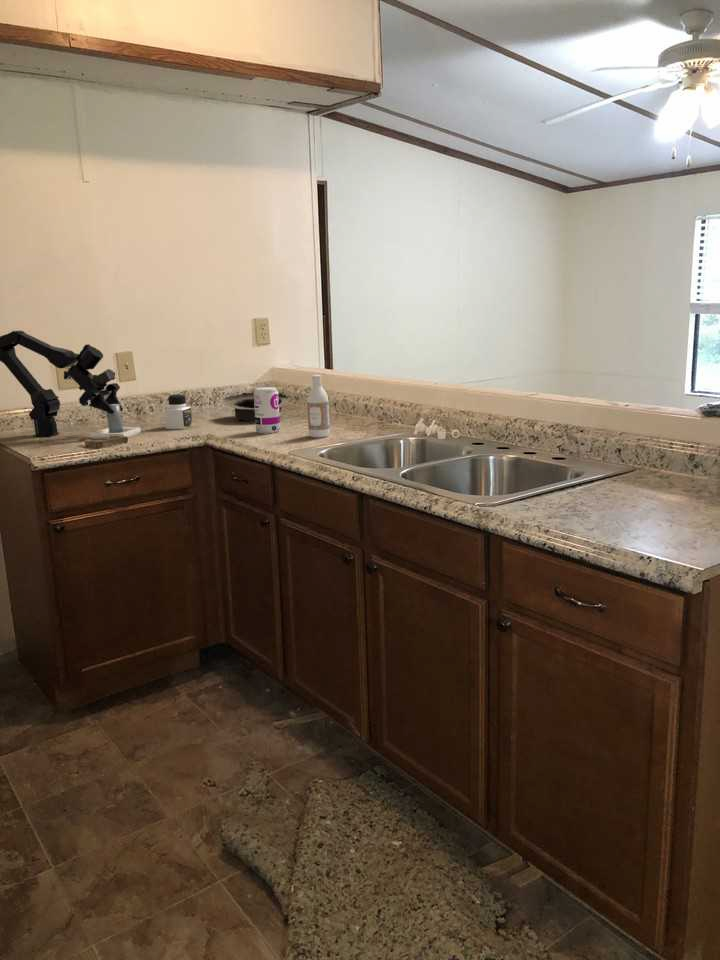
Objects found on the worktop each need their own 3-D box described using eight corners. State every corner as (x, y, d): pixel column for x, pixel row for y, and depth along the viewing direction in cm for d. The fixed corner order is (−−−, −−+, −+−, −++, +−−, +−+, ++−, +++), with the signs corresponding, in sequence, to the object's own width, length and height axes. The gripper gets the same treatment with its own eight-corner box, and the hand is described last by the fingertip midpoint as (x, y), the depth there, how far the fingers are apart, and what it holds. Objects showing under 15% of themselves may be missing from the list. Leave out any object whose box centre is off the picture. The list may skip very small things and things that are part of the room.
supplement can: (284, 430, 270) (282, 387, 267) (272, 434, 263) (269, 390, 260) (264, 429, 274) (261, 386, 270) (251, 433, 266) (248, 389, 263)
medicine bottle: (184, 429, 278) (181, 395, 275) (165, 429, 280) (163, 395, 277) (192, 426, 285) (190, 393, 282) (174, 426, 286) (171, 393, 284)
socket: (85, 446, 251) (84, 440, 251) (114, 440, 260) (113, 434, 259) (99, 448, 247) (98, 442, 246) (128, 442, 255) (127, 436, 255)
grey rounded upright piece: (107, 435, 265) (103, 406, 262) (108, 432, 270) (104, 404, 268) (124, 434, 266) (120, 405, 263) (125, 431, 271) (121, 403, 269)
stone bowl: (255, 411, 315) (255, 388, 312) (303, 420, 301) (303, 397, 298) (210, 419, 295) (210, 395, 293) (259, 429, 281) (259, 404, 279)
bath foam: (305, 437, 255) (302, 376, 251) (313, 433, 262) (310, 374, 257) (325, 438, 253) (323, 376, 249) (332, 434, 260) (330, 374, 255)
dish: (91, 439, 264) (90, 433, 263) (109, 432, 275) (108, 427, 275) (124, 439, 261) (123, 433, 261) (140, 433, 273) (140, 427, 272)
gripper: (83, 364, 254) (117, 398, 255) (112, 359, 272) (144, 391, 272) (64, 389, 258) (98, 422, 258) (94, 382, 275) (125, 413, 276)
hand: (117, 411), depth 266 cm, fingers open, 6 cm apart
